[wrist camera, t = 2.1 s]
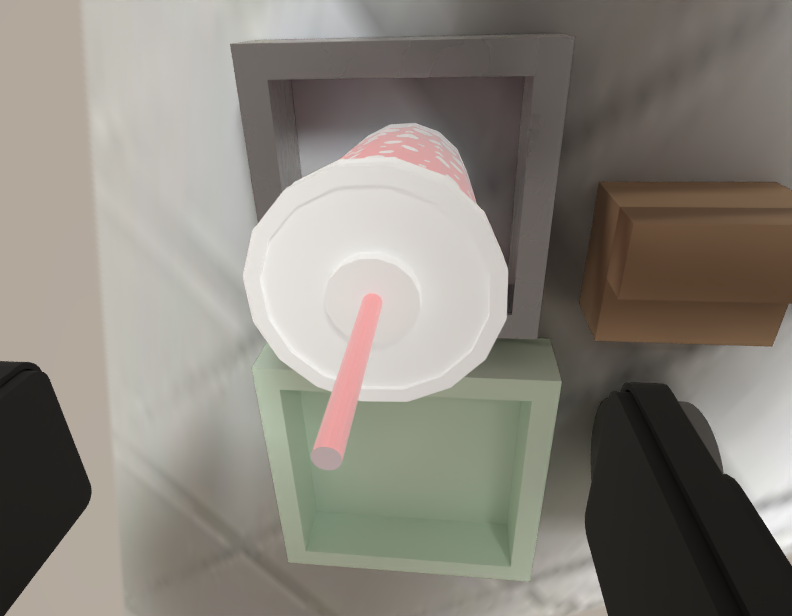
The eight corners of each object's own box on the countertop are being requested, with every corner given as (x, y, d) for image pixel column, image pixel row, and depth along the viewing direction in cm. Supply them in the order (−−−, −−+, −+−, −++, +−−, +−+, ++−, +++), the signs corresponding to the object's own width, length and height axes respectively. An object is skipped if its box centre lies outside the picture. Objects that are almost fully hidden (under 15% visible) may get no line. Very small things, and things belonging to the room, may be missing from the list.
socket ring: (257, 39, 18) (230, 43, 16) (560, 33, 17) (574, 36, 15) (292, 300, 23) (274, 330, 21) (529, 306, 22) (537, 339, 20)
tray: (274, 329, 24) (251, 368, 21) (549, 338, 22) (561, 381, 20) (303, 513, 29) (288, 562, 27) (523, 529, 28) (530, 581, 26)
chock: (597, 180, 19) (633, 223, 15) (773, 180, 19) (857, 225, 15) (578, 301, 22) (605, 365, 18) (733, 305, 21) (796, 372, 17)
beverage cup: (433, 286, 22) (402, 632, 10) (300, 211, 21) (79, 491, 9) (523, 158, 19) (639, 418, 7) (374, 63, 18) (199, 171, 6)
